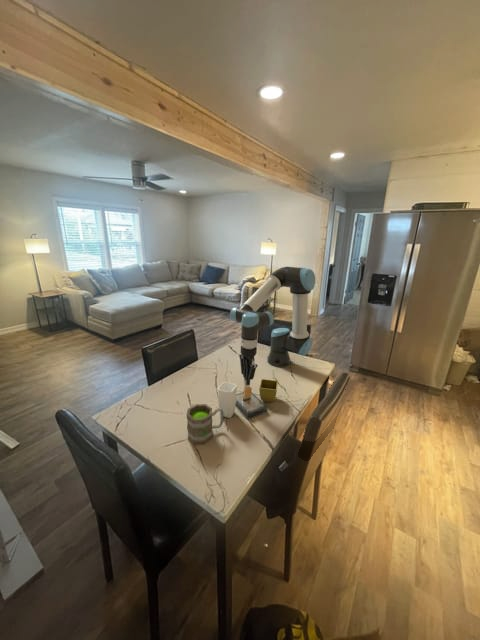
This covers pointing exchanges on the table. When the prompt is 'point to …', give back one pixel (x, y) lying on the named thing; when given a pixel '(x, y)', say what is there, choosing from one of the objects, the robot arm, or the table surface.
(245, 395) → the paddle
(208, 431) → the mug
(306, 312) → the robot arm
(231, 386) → the cup
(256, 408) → the panel
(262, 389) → the flower pot
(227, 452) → the table surface
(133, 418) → the table surface
